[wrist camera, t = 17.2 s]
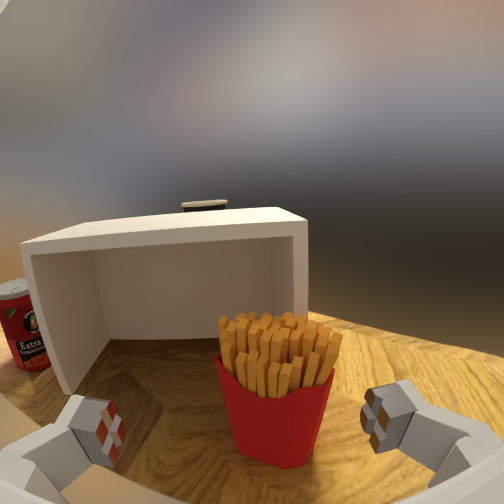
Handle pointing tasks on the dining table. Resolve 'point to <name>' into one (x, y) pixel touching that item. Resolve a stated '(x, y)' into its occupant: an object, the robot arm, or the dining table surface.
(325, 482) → the dining table surface
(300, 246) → the white step stool
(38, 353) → the canned food
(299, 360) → the french fries
